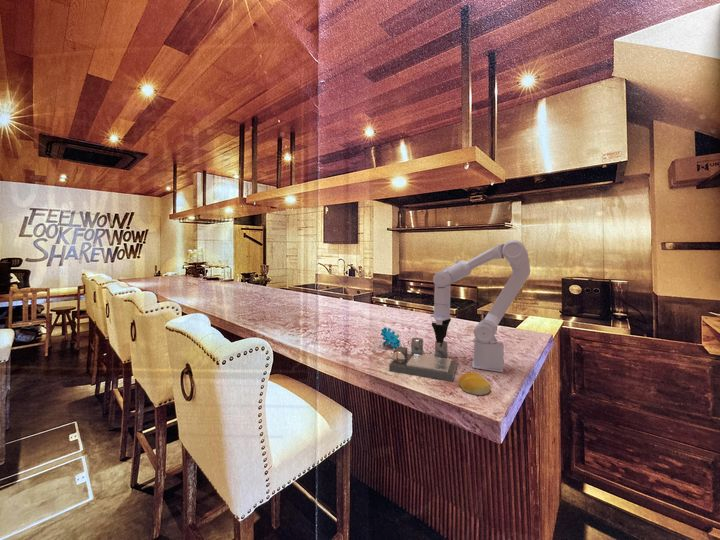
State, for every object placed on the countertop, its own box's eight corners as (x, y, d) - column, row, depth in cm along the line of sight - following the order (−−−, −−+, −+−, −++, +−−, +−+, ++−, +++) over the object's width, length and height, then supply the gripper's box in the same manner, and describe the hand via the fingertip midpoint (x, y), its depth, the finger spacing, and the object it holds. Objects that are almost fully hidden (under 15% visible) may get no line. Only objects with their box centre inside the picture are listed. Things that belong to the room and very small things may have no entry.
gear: (391, 347, 114) (379, 326, 120) (381, 355, 117) (370, 334, 122) (406, 345, 122) (394, 325, 128) (397, 353, 125) (386, 333, 130)
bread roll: (465, 396, 79) (466, 382, 79) (455, 382, 88) (456, 369, 88) (496, 396, 79) (496, 382, 78) (483, 382, 88) (483, 369, 87)
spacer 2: (447, 357, 109) (448, 341, 109) (446, 360, 105) (446, 344, 105) (435, 355, 111) (436, 339, 110) (434, 359, 107) (434, 343, 106)
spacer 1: (423, 353, 112) (424, 338, 112) (421, 357, 108) (421, 341, 108) (412, 352, 114) (412, 337, 114) (410, 355, 110) (410, 340, 110)
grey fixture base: (456, 366, 99) (456, 350, 99) (452, 381, 87) (453, 363, 87) (399, 358, 107) (399, 343, 107) (388, 370, 95) (388, 353, 95)
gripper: (434, 300, 115) (433, 333, 116) (427, 305, 102) (426, 343, 102) (452, 301, 112) (451, 335, 113) (448, 307, 99) (447, 346, 100)
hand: (441, 339), depth 107 cm, fingers open, 7 cm apart
